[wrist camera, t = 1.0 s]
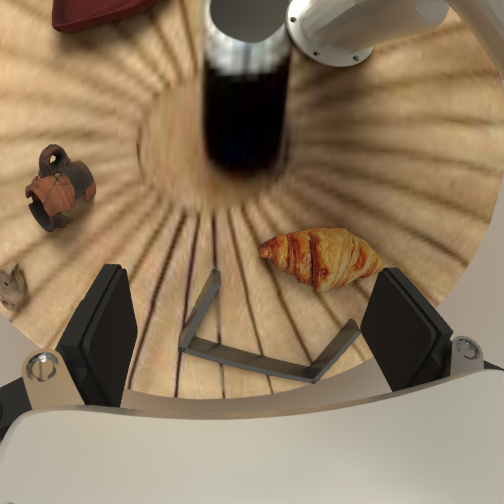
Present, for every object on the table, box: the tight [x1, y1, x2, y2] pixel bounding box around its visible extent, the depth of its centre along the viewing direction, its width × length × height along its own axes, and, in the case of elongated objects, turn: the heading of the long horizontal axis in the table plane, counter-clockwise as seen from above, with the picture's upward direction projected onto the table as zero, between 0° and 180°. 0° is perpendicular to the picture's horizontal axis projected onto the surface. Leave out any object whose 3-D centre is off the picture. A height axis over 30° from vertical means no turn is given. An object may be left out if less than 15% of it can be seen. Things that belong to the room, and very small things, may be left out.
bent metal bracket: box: [178, 269, 361, 384], centre depth 48 cm, size 15×28×4 cm, turn 63°
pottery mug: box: [25, 144, 96, 232], centre depth 32 cm, size 12×9×8 cm
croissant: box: [258, 227, 383, 293], centre depth 41 cm, size 21×10×8 cm, turn 80°
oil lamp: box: [0, 259, 25, 309], centre depth 37 cm, size 13×8×5 cm, turn 136°
